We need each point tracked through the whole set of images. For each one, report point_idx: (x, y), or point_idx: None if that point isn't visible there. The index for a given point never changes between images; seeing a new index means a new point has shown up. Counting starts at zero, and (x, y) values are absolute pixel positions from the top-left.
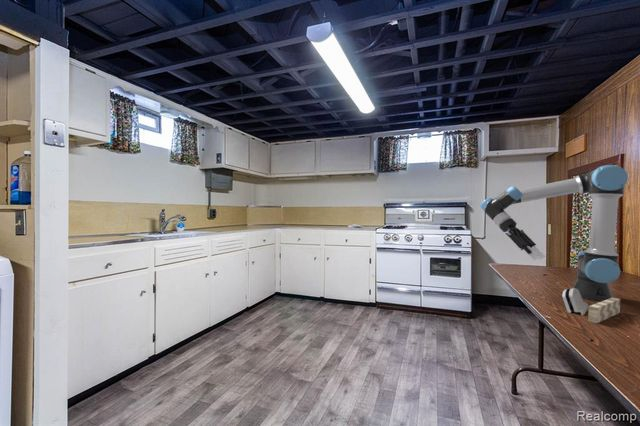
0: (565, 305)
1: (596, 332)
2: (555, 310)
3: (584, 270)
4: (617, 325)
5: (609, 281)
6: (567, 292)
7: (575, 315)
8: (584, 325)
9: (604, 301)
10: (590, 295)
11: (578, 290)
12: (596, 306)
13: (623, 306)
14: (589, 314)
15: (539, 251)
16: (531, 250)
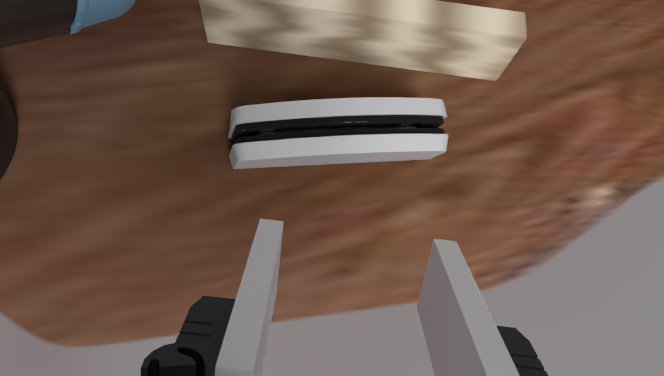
0: (437, 155)
1: (605, 45)
2: (456, 202)
3: (83, 7)
4: None
5: None
6: (398, 128)
7: (452, 127)
8: (565, 81)
9: (345, 6)
10: (2, 124)
11: (240, 107)
12: (493, 17)
13: None
14: (509, 58)
15: (274, 271)
16: (493, 331)
